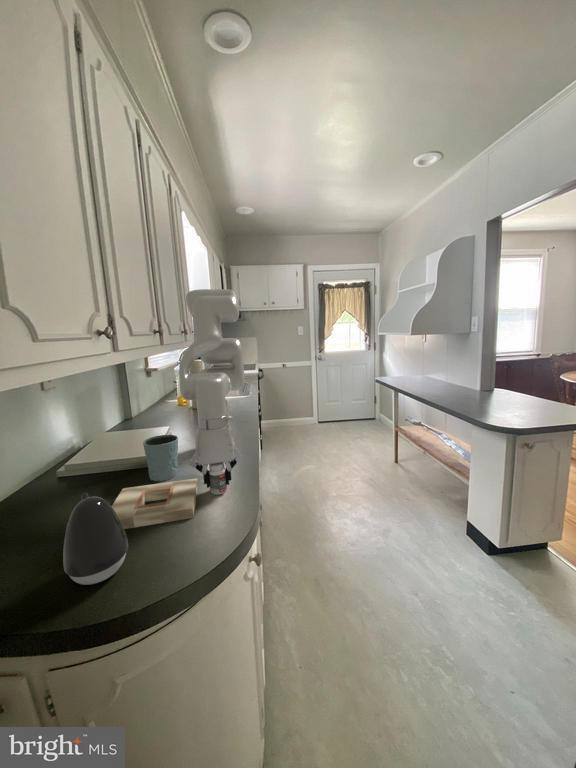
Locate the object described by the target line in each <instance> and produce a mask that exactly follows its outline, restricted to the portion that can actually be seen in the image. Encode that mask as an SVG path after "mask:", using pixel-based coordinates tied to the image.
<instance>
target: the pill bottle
mask: <svg viewBox="0 0 576 768" xmlns="http://www.w3.org/2000/svg"><path fill="white" fill-rule="evenodd" d="M208 468H209V469H208V471H209V484H210V487H209V492H210V494H212V495H214V496H215V495H217V496H218V495H223V494H224V493H226V492H227V491H228V485H227V482H226V467H225V463H224V462H221V463H214V464H208Z"/></svg>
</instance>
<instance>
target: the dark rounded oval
mask: <svg viewBox="0 0 576 768" xmlns="http://www.w3.org/2000/svg"><path fill="white" fill-rule="evenodd" d="M80 498H81V500H80V501H78V503H77V504H76V505H75V506H74V508H73V509H72V511H71V512H70V513H71V514H70V516H69V519H68V522H67V524H66V529H65V535H64V541H63V552H62V553H63V554H62V555H63V556H62V557H63V559H62V562H63V569H64V572H65V574H67V575H68V576H69V578H70V579H71V580H72V581H73V582H75V583H77V584H79V585H83V586H85V585H88V586H90V585H95V584H99V583H102V582H103V581H105V580H107V579H109V578H110V577H112V576H113V575H114V574H116V573H117V571H118V570H120V568H121V566H122V565H123V563H124V561H125V559H126V555H127V551H128V550H129V549H128V548H129V542H128V536H127V534H126V531H125V530H126V529H124V528H123V525H122V523H121V521H120V519H119V517H118V515H117V514H116V512H115V510H114V509H113V508H112V505H111V504H110V503H109V502H108V501H107V500H106V499H104V498H102V497H100V496H89V494H88V493H87V492H83V493H82V494H81V495H80Z"/></svg>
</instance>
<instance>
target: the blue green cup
mask: <svg viewBox="0 0 576 768" xmlns="http://www.w3.org/2000/svg"><path fill="white" fill-rule="evenodd" d="M142 445H143V449H144V454H145V457H146V464H147V468H148V476H149V479H150V480H151V481H152V480H154V481H153V482H155V481H160V482H166V481H169V480H172V479H174V478H175V477H176V475H177V476H178V475H179V454H178V453H179V452H178V451H179V437H178V436H177V435H175V434H161V435H155V436H152V437H149V438H147V439H145V440H143V442H142ZM173 477H174V478H173ZM171 478H172V479H171ZM168 479H169V480H168ZM165 480H166V481H165Z"/></svg>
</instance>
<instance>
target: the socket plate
mask: <svg viewBox="0 0 576 768" xmlns="http://www.w3.org/2000/svg"><path fill="white" fill-rule="evenodd" d="M198 488H199V482H198V477H196V478H191V479H183V480H175V481H168V482H166V481H165V482H160V483H154V484H145V485H138V486H131V487H124V488H122V489H121V491H120V492H119V494H118V496H117V497H116V498H115V499H114V502H113V503H112V505H111V506H112V508H113V509H114V510H115V512H116V514H117V515H118V517H119V519H120V521H121V523H122V525H123V528H124V530H128V529H134V528H140V527H146V526H152V525H157V524H163V523H170V522H176V521H182V520H188V519H193V518H194V517H195V510H196V503H197V495H198ZM160 500H166V501H164V502H158V503H151V504H149V503H148V504H146V503H147V502H153V501H155V502H156V501H160Z"/></svg>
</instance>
